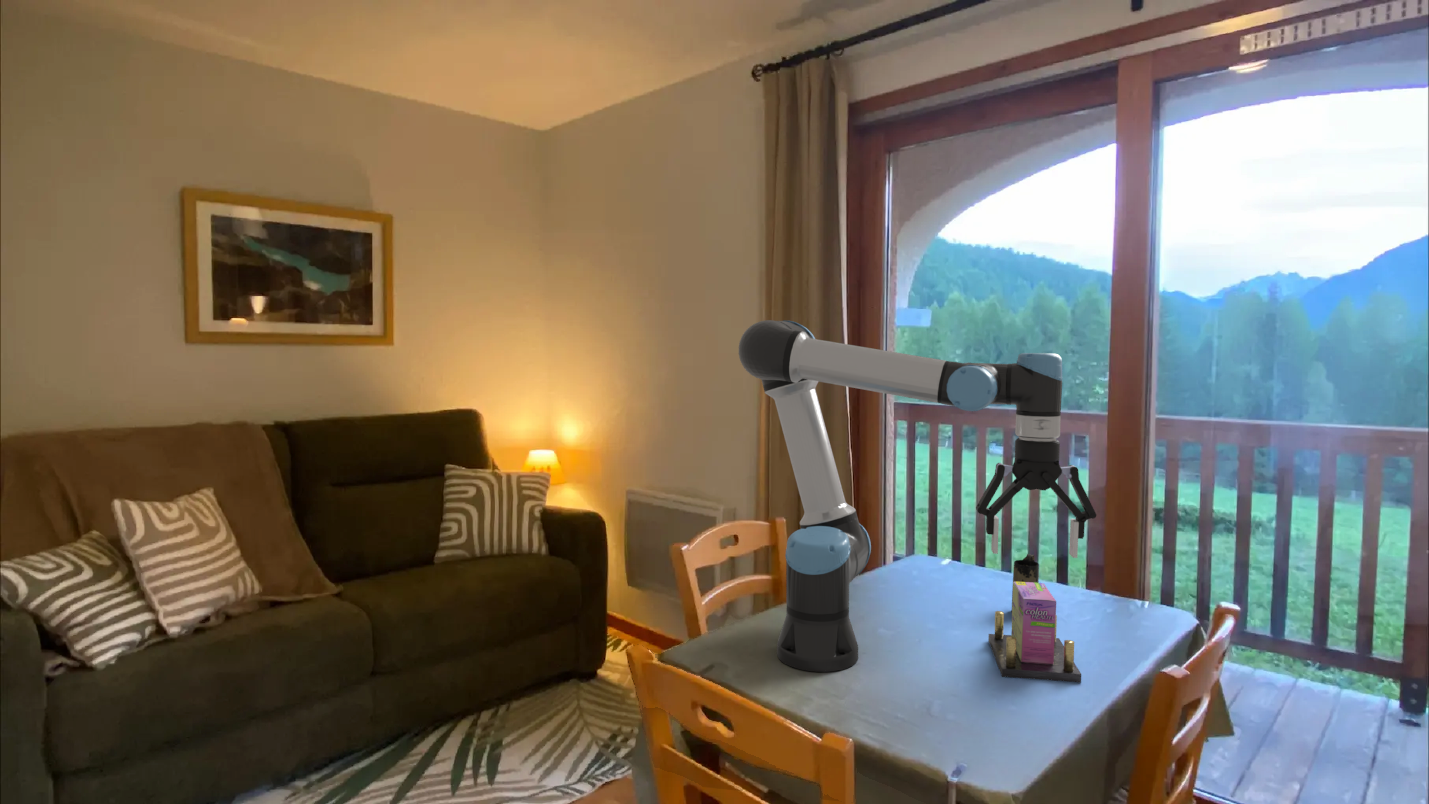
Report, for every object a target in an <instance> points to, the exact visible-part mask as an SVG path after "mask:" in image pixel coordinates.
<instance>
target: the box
mask: <svg viewBox="0 0 1429 804" xmlns="http://www.w3.org/2000/svg"><path fill="white" fill-rule="evenodd" d="M1012 589H1013V601H1012V600H1011V634H1010V635H1011V636H1012V637H1015V638H1016V651H1017V654H1018V656H1019V658H1020V660H1021V662H1025V663H1036V664H1054V641H1055V621H1056V615H1057V600H1056V599H1055V597H1054V596H1053V595H1052V593H1051V592H1050V590H1049V589H1048V587H1047V586H1046V584H1045V583H1043V582H1039V583H1035V582H1013V581H1012Z"/></svg>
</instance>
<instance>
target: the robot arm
mask: <svg viewBox="0 0 1429 804" xmlns="http://www.w3.org/2000/svg"><path fill="white" fill-rule="evenodd" d="M738 357H739V361H740V363H741V365H742V366H743V368H744V370H745V371H746V372H747V373H748V374H750V375H751V376H753V377H754V378H757V379H759V380H761V384H762V387H763V392H764V394H766V395H767V396H768V397H770V398H771V399H773V400H774V403H775V407H776V411H777V415H778V419H779V422H780V426H781V429H782V433H783V437H784V442H785V445H786V448H787V452H788V455H789V460H790V463H791V466H792V470H793V474H794V478H795V482H796V486H797V490H798V494H799V496H800V501H801V504H802V507H803V511H804V513H803V516H802V518H801V520H800V521H799V525H800V529H797V530H795V531H793V532H792V533H791V534H790V535H789V537H788V539H787V541H786V549H785V555H784V556H785V560H786V563H785V564H786V566H785V567H786V568H785V569H786V572H785V573H786V574H785V576H786V577H785V578H786V584H785V586H786V587H785V588H786V590H785V591H786V600H785V601H786V614H785V618H784V620H783V623H782V626H781V630H780V633H779V636H778V639H777V643H776V656H777V659H778V660H780V662H781V663H783V664H785V665H786V666H788V667H792V668H794V669H797V670H801V671H807V672H817V673H819V672H820V673H822V672H823V673H824V672H837V671H842V670H845V669H848V668H851V667H852V666H854V665H855V664H856V663H857V662H858V661H859V645H858V642H857V638H856V635H855V631H854V628H853V625H852V623H851V619H850V583H851V582H852V581H853V580H854V579H855V578H856V577H857V576H858V575H859V574H861V573H862V571H863V570H864V569H865V568H866V566H867V564H868V562H869V559H870V557H871V556H870V555H871V553H872V551H871V550H872V545H871V544H872V543H871V539H870V538H871V537H870V536H869V535H870V534H869V533H868V531H867V530H866V528H865V527H864V526H863V525H862V524H861V523H860V522H859V518H858V514H857V510H856V508H855V507H853V506H852V505H850V504H848V503H847V501H846V498H845V494H844V492H843V491H844V490H843V487H842V484H841V479H840V476H839V472H838V468H837V465H836V460H835V458H834V453H833V450H832V446H831V443H830V438H829V434H828V432H827V428H826V424H825V420H824V417H823V412H822V409H821V406H820V405H821V404H820V403H819V398H818V393H817V391H816V388H817V385H818V383H819V382H820V383H825V384H832V385H836V386H843V387H847V388H848V387H849V388H853V389H854V388H855V389H860V390H865V391H871V392H875V393H881V394H886V395H892V396H898V397H903V398H909V399H915V400H920V401H926V402H930V403H931V402H932V403H936V404H942V405H945V406H950V407H951V406H952V407H956V408H958V409H959V410H962V411H966V412H978V411H981V410H984V409H985V408H987V407H989V406H990V405H1008V406H1010V405H1014V406H1015V408H1016V410H1015V430H1014V431H1015V434H1014V435H1016V436H1017V437H1018V438H1016V439H1015V440H1014V460H1013V463H1012V465H1010V464H1009V465H1008V464H1004V463H1001V462H997V463H996V464H995V470H994V475H993V477H992V478H991V480H990V482H989V484H988V485H987V487H986V488H985V490H984V493H983V494H982V496H981V498H980V500H979V501H978V503H977V505H976V507H975V509H976V512H977V513H978V514H980V515H984V516H985V517H986V518H985V532H986V534H987V535H991V545H990V548H991V552H992V554H995V555H997V554H999V553H998V552H999V525H1000V524H999V523H1000V518H999V516H997V515H998V513H999V512H1001V510H1002V509H1003V508H1004V507H1005V506H1006V505H1007V504H1008V503H1009V502H1010V501H1011V500H1012V499H1013V498H1014V497H1015V495H1017V494H1018V493H1019V492H1021V491H1022V490H1023V488H1024V489H1025V490H1027V491H1034V490H1039V491H1047V490H1048V489H1051V491H1053V493H1054V494H1055V495H1056V496H1057V497H1058V498H1059V500H1060V501H1061V502H1062V503H1063V504H1064V505H1065V507H1066V508H1067V509H1068V510H1069V512H1070V513H1071V514H1072V515H1073V516H1074V518H1070V520H1069V521H1070V523H1069V549H1068V550H1069V553H1068V554H1069V555H1070V557H1071V558H1073V559H1074V558H1075V559H1078V550H1079V549H1078V548H1079V539H1084V537H1085V525H1086V524H1085V523H1086V522H1087V521H1088V520H1090V519H1095V518H1096V517H1097V513H1096V511H1095V509H1094V507H1093V505H1092V502H1091V501H1090V499H1089V496H1088V494H1087V493H1086V491H1085V489H1084V487H1083V485H1082V482H1081V481H1080V474H1079V468H1078V467H1077V466H1075V465H1073V464H1069V465H1068V466H1061V465H1060V454H1061V453H1060V451H1061V450H1060V449H1061V448H1060V447H1061V442H1060V441H1059V440H1058V438H1059V437H1061V416H1062V415H1061V414H1062V411H1061V410H1062V395H1063V394H1062V393H1063V359H1062V357H1061V356H1060V355H1059V354H1058V353H1054V352H1053V353H1052V352H1048V353H1047V352H1022V353H1020V354H1018V356H1017V360H1016V362H1012V363H992V362H991V363H987V362H986V363H985V362H957V361H950V360H945V359H939V358H932V357H927V356H926V357H925V356H918V355H914V354H908V353H902V352H896V351H889V350H882V349H878V348H877V349H876V348H871V347H866V346H859V345H854V344H847V343H843V342H842V343H841V342H835V341H829V340H822V339H816V337H815V335H814V334H813V333H812V332H811V331H810V330H809V329H808V328H807V327H805V326H804V325H802V324H800V323H798V322H796V321H792V320H772V319H771V320H770V319H768V320H761V321H757V322H755V323H754V324H751V325H750V326H749V327H748V328H747V329H746V330H745V331H744V332H743V334H742V336H741V338H740V340H739V343H738ZM1009 473H1012V474H1013V476H1014V477H1015V479H1014V480H1013V481H1012V482H1011V483H1010V485H1009V486H1008V487H1007V488H1006V489H1005V490H1004V491H1003V493H1001V494H1000V495H999V496H998V497H997V498H996V499H995V501H993V503H992V504H991V505H990V503H991V501H992V499H994V496H995V494H996V493H997V491H998V489H999V487H1000V485H1001V484H1002V482H1003V479H1004V477H1007V476H1008V475H1009ZM1062 474H1063V475H1064V477H1065V478H1066V479H1069V482H1070V484H1071V486H1072V489H1073V490H1074V493H1075V494H1076V496H1077V498H1078V500H1079V503H1080V504H1081V506H1082V509H1083V511H1081V510H1080V509H1079V508H1078V507H1077V505H1076V504H1075V503H1074V502H1073V501H1072V500H1071V498H1070V497H1069V496H1068V494H1067V493H1066V492H1065V491H1064V490H1063V489H1062V487H1061V486H1060V485H1059V484H1058V483H1057V480H1058V479H1059V478H1060V477H1061V475H1062ZM989 505H990V506H989Z"/></svg>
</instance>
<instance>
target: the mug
mask: <svg viewBox="0 0 1429 804" xmlns="http://www.w3.org/2000/svg"><path fill="white" fill-rule="evenodd" d="M1035 558H1036V557H1035V555H1034V554H1029V553H1028V554H1026V555H1025V557H1024V558H1023V559H1017V560H1014V562H1013V572H1012V573H1013V574H1012V575H1013V576H1012V583H1013V582H1035V583H1040V582H1039V580H1040V579H1039V576H1040V575H1039V572H1040V564H1039V562H1037V561H1035ZM1011 591H1012V594H1011V602H1012V601H1013V588H1012V590H1011Z"/></svg>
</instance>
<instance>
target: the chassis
mask: <svg viewBox="0 0 1429 804" xmlns="http://www.w3.org/2000/svg"><path fill="white" fill-rule="evenodd" d="M1057 620H1058V616H1057V614H1056V621H1055V641H1054V664H1036V663H1025V662H1021V660H1020V658H1019V656H1018V654H1017V651H1016V638H1015V637H1012V636H1011V634H1004V629H1005V628H1004V626H1005V625H1004V623H1005V612H1003V611H1001V610H996V611H994V633H988V637H987V638H988V644H989V647H990V649H991V651H992V654H993V657H994V660H995V662H996V665H997V667H998V670H999V672H1000V676H1001V677H1002V678H1011V679H1013V678H1014V679H1026V680H1039V681H1040V680H1041V681H1051V682H1052V681H1054V682H1055V681H1056V682H1067V683H1078V684H1079V683H1082V673H1081V671H1080V669H1079V668H1078V667H1077V665H1076V663H1075V641H1073V640H1071V639H1065V640H1064V641H1063V642H1064V643H1063V642H1062V640H1061V639H1060V638H1059V637H1057V625H1058V623H1057Z"/></svg>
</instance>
